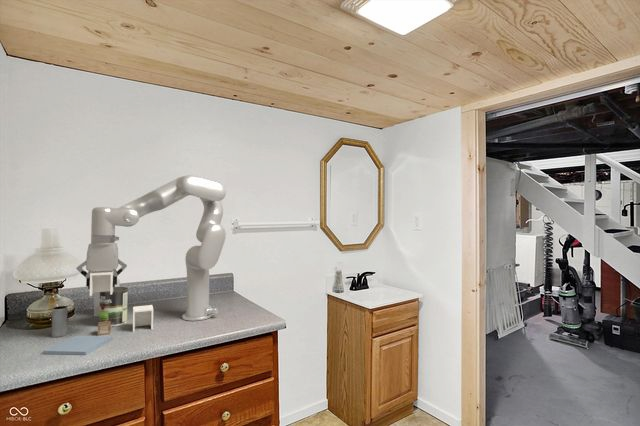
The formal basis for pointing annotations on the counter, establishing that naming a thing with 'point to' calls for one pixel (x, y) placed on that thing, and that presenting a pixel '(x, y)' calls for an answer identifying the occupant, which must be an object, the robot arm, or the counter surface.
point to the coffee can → (114, 306)
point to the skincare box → (97, 300)
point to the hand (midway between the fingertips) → (101, 287)
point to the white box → (101, 281)
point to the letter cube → (104, 328)
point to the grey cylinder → (59, 321)
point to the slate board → (78, 345)
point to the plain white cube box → (142, 316)
